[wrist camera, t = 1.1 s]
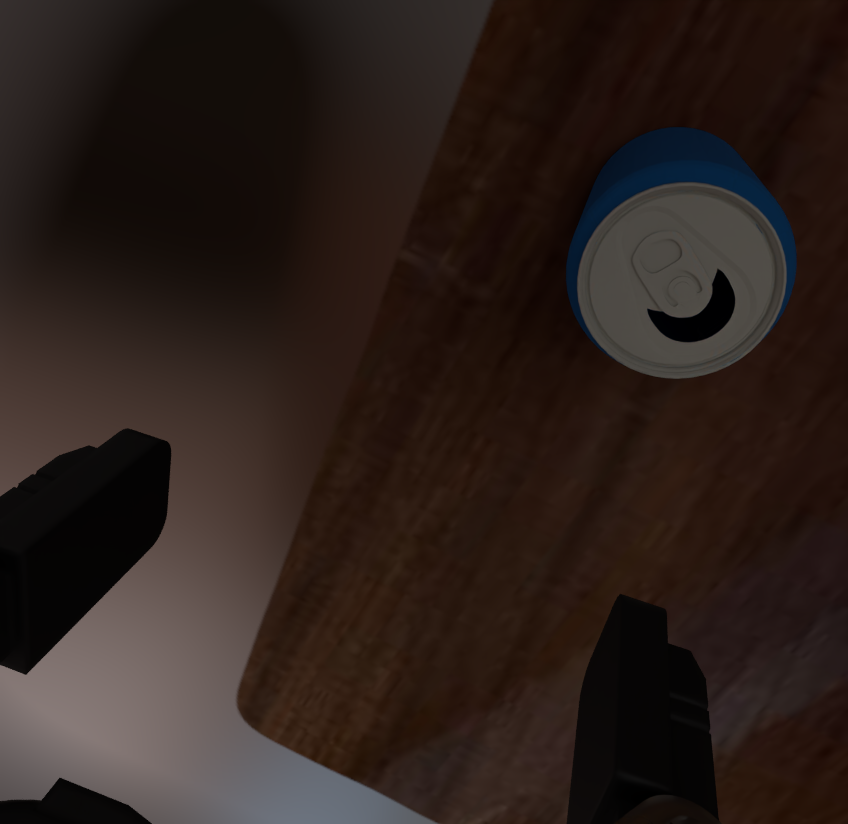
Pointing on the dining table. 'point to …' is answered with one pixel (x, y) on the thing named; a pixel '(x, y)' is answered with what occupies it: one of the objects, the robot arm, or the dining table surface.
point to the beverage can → (679, 256)
